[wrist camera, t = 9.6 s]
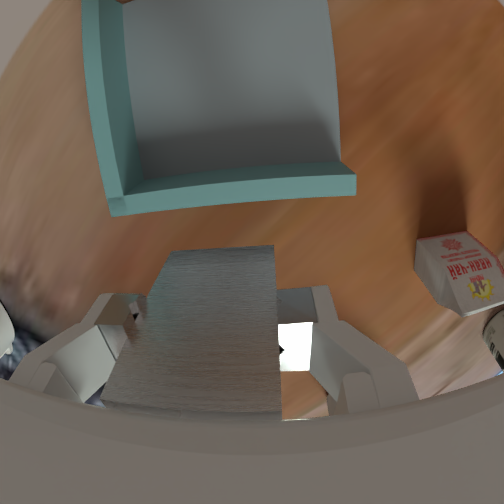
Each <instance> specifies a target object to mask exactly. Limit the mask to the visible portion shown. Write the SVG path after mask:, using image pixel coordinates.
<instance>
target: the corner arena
mask: <svg viewBox="0 0 504 504" xmlns="http://www.w3.org/2000/svg"><path fill="white" fill-rule="evenodd" d="M82 43H83V58H84V70H85V80H86V89H87V97H88V105H89V112H90V118H91V125H92V131H93V137H94V142H95V148H96V153H97V158H98V163H99V167H100V172H101V177H102V181H103V185H104V190H105V194H106V198H107V202H108V206H109V210H110V213H111V217H116V216H123V215H131V214H138V213H146V212H154V211H162V210H171V209H179V208H189V207H198V206H208V205H218V204H229V203H240V202H252V201H264V200H278V199H293V198H309V197H327V196H349V195H356V174H355V173H354V172H353V171H352V170H350V169H349V168H348V167H347V166H345V165H344V164H343V163H342V162H341V159H340V128H339V108H338V93H337V80H336V68H335V58H334V49H333V40H332V32H331V24H330V17H329V10H328V4H327V0H134V1H131V2H128V3H125V4H121V3H119V2H117V1H116V0H82Z"/></svg>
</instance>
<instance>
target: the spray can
mask: <svg viewBox="0 0 504 504" xmlns="http://www.w3.org/2000/svg"><path fill="white" fill-rule="evenodd" d="M483 339H484V342H485V343H486V345H487V347H488V348H489V350H490V351H491V353H492V354H493V356H494V357H495V359H496V361H497V362H498V364H499V366H500V367H501V369H502V371H503V372H504V310H502V311H500V312H499V313H497V314H496V315H495V316H494V317H493V318H492V319H491V320H490V322H489V323H488V324H487V326H486V328H485V330H484V332H483Z"/></svg>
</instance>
